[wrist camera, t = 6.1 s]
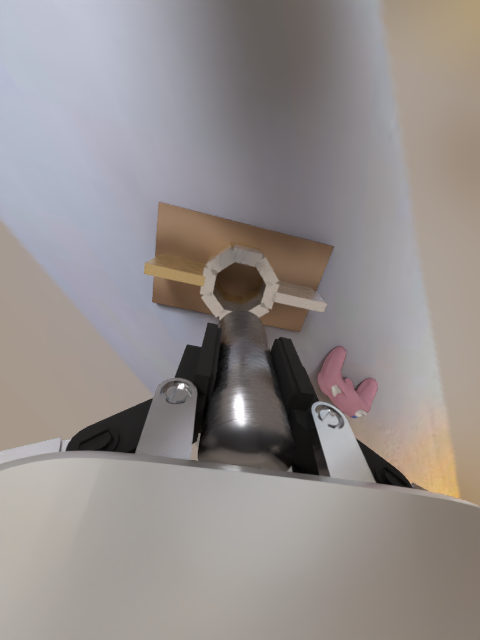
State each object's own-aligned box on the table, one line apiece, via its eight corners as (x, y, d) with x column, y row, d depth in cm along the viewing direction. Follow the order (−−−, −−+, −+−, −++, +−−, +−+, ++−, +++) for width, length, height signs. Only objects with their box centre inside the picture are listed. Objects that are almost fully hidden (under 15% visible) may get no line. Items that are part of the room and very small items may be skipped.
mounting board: (161, 202, 23) (158, 202, 22) (330, 245, 25) (333, 246, 24) (154, 299, 28) (152, 302, 27) (297, 328, 30) (299, 331, 29)
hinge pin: (222, 305, 13) (206, 414, 6) (270, 315, 14) (310, 430, 6) (213, 347, 14) (191, 480, 7) (257, 355, 15) (279, 489, 8)
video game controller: (313, 351, 34) (309, 392, 29) (342, 341, 30) (342, 386, 26) (350, 385, 37) (351, 428, 32) (379, 380, 34) (385, 426, 29)
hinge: (163, 223, 23) (146, 226, 19) (321, 262, 25) (340, 273, 21) (158, 288, 26) (142, 304, 22) (300, 318, 28) (312, 338, 24)
